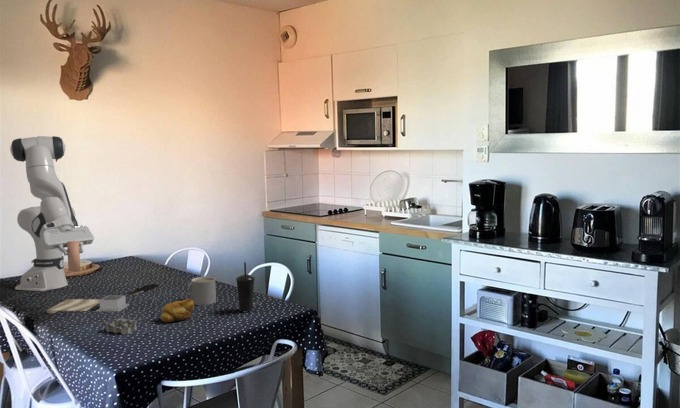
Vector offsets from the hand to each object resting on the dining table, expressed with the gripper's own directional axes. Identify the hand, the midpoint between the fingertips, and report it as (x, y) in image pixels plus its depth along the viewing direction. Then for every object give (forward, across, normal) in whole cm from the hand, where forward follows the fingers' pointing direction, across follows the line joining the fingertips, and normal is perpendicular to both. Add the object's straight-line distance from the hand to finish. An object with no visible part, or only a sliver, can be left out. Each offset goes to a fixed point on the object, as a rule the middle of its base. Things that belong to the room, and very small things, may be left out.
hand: (74, 253), depth 228 cm
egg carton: (+45, +2, +12) cm, 47 cm away
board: (+16, 0, -17) cm, 23 cm away
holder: (+26, -8, -6) cm, 28 cm away
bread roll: (+48, -18, +15) cm, 54 cm away
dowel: (+5, 0, -6) cm, 7 cm away
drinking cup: (+57, -42, +25) cm, 75 cm away
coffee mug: (+39, -39, +7) cm, 55 cm away
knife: (+14, -29, -19) cm, 37 cm away
